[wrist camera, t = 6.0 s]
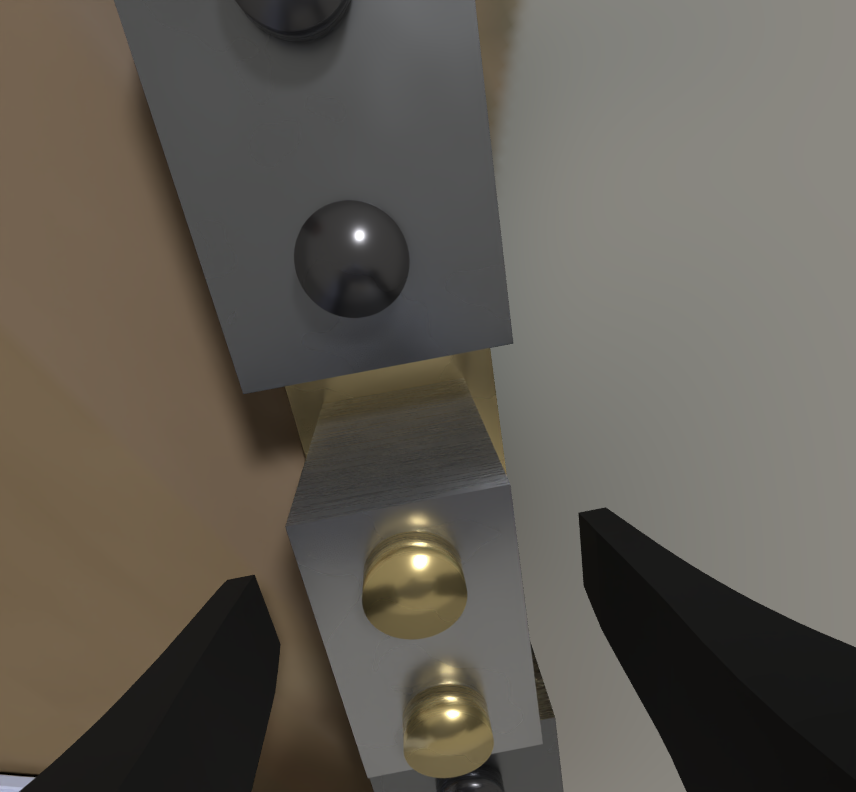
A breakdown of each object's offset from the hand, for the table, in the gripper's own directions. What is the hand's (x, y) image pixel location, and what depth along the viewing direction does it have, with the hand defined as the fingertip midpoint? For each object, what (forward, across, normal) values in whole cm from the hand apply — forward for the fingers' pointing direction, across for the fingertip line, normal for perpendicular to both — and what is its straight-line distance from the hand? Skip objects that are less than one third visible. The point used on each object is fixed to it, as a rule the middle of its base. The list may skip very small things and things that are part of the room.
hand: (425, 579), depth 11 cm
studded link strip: (+3, 0, 0) cm, 3 cm away
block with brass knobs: (+3, 0, 0) cm, 3 cm away
